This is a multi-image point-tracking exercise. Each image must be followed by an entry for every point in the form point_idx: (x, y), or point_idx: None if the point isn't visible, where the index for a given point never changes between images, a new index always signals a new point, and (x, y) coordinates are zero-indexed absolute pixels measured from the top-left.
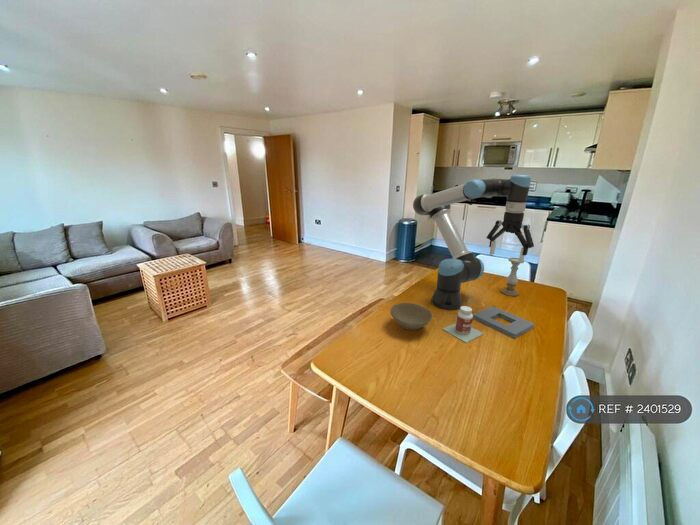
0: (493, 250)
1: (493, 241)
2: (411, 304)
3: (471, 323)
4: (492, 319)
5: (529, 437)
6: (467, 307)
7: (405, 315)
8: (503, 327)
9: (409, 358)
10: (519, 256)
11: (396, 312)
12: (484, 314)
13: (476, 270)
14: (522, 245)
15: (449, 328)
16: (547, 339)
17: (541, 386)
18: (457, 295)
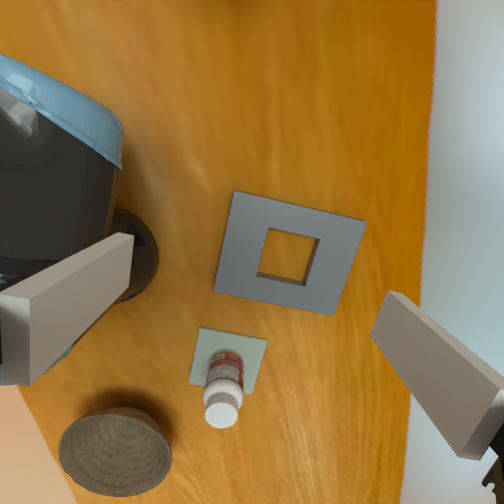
0: (113, 271)
1: (26, 373)
2: (81, 421)
3: (243, 382)
4: (265, 281)
5: (384, 497)
6: (220, 408)
7: (99, 421)
8: (301, 303)
9: (199, 484)
10: (394, 368)
11: (82, 448)
12: (237, 268)
13: (96, 197)
14: (498, 495)
15: (199, 372)
16: (396, 258)
17: (392, 415)
18: (131, 278)
